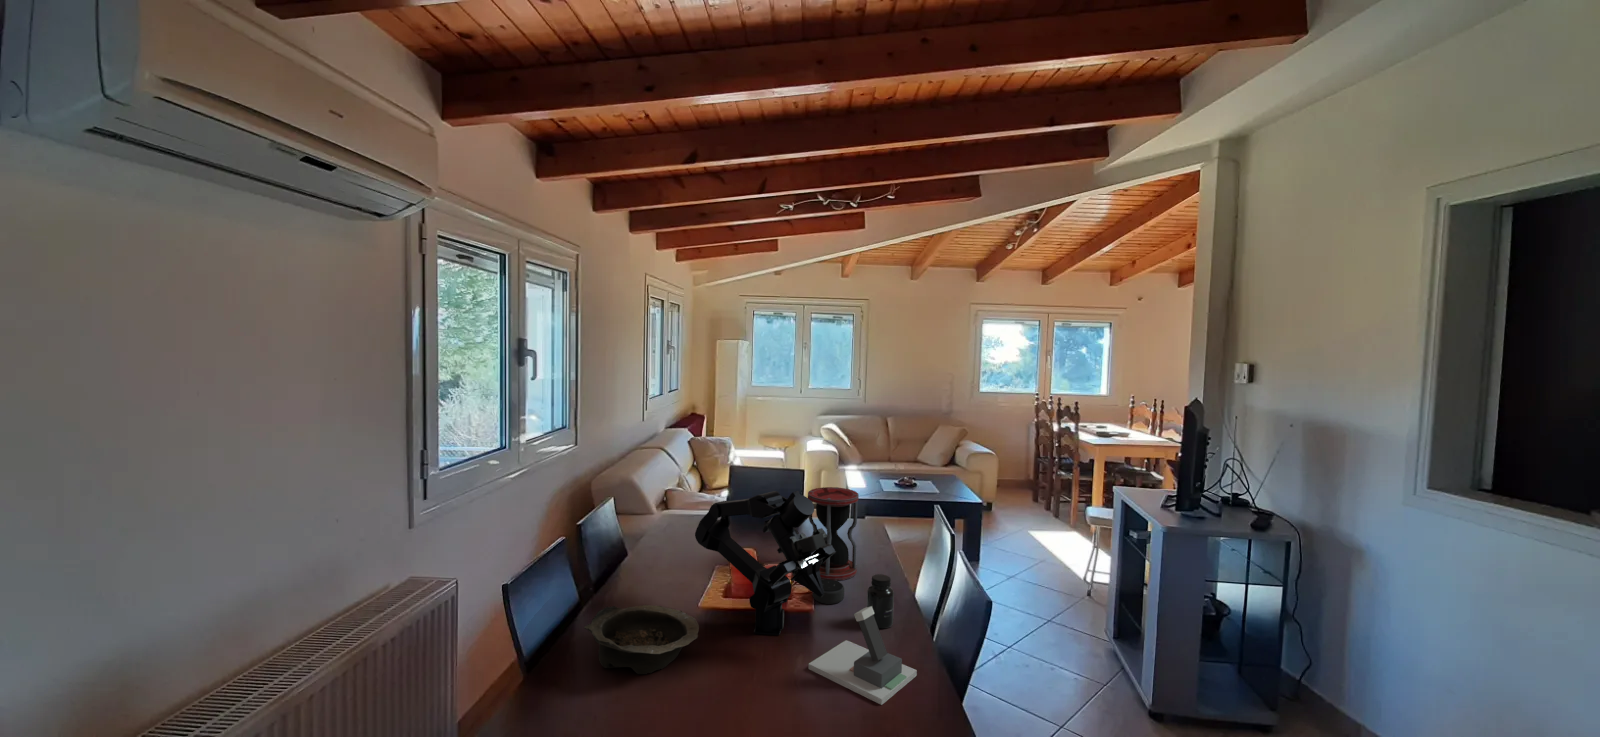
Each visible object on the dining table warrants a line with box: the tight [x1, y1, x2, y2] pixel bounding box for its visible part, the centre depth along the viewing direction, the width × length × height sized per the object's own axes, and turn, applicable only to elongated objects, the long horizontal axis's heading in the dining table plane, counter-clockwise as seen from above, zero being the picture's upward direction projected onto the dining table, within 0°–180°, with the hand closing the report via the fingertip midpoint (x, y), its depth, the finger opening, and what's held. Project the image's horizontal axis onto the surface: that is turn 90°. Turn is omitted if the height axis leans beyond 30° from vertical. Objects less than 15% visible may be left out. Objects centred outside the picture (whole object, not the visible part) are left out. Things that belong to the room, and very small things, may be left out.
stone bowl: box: [583, 604, 700, 675], centre depth 132 cm, size 25×25×9 cm
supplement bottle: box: [866, 573, 895, 630], centre depth 150 cm, size 7×7×12 cm
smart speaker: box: [812, 579, 845, 605], centre depth 164 cm, size 9×9×4 cm
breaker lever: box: [853, 606, 889, 661], centre depth 126 cm, size 2×4×10 cm, turn 139°
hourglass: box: [807, 486, 860, 582], centre depth 184 cm, size 16×16×25 cm
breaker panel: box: [808, 640, 918, 706], centre depth 127 cm, size 19×14×4 cm
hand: (822, 595), depth 134 cm, fingers closed
